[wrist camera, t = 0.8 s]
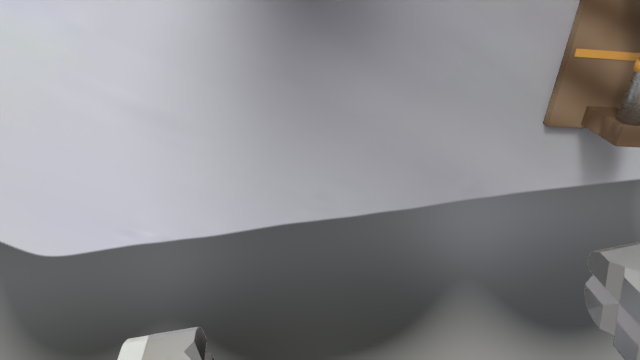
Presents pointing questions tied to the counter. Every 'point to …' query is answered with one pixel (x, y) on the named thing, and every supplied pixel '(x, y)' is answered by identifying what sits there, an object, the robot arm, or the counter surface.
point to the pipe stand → (601, 73)
